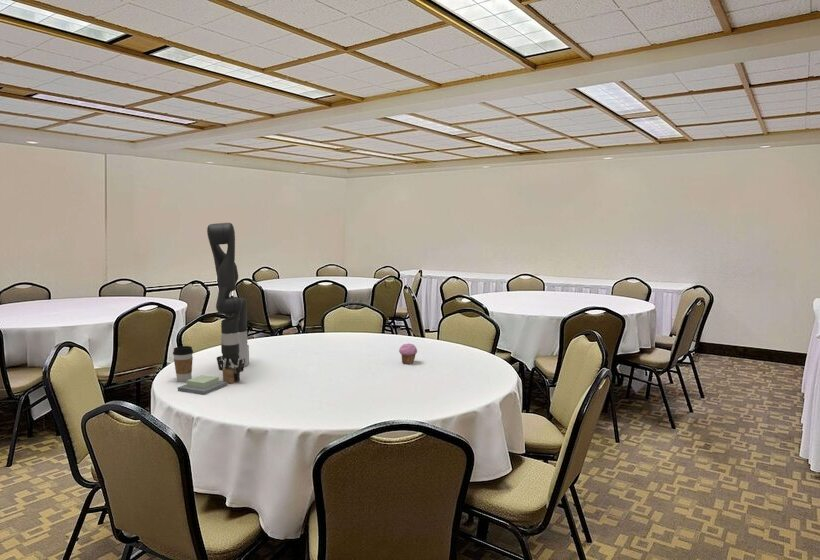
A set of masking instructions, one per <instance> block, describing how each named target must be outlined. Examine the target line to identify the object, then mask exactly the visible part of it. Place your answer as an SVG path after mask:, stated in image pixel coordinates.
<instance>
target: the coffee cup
mask: <svg viewBox="0 0 820 560" xmlns="http://www.w3.org/2000/svg"><path fill="white" fill-rule="evenodd" d="M193 353H194V350H193V347H192V346H190V345H189V346H188V345H183V346H177V347H174V348H173V352H172V355H173V361H174V369H175V376H176V382H178V383H187V380H190V379H192V378H193V376H192V373H193V359H194V357H193Z"/></svg>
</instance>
